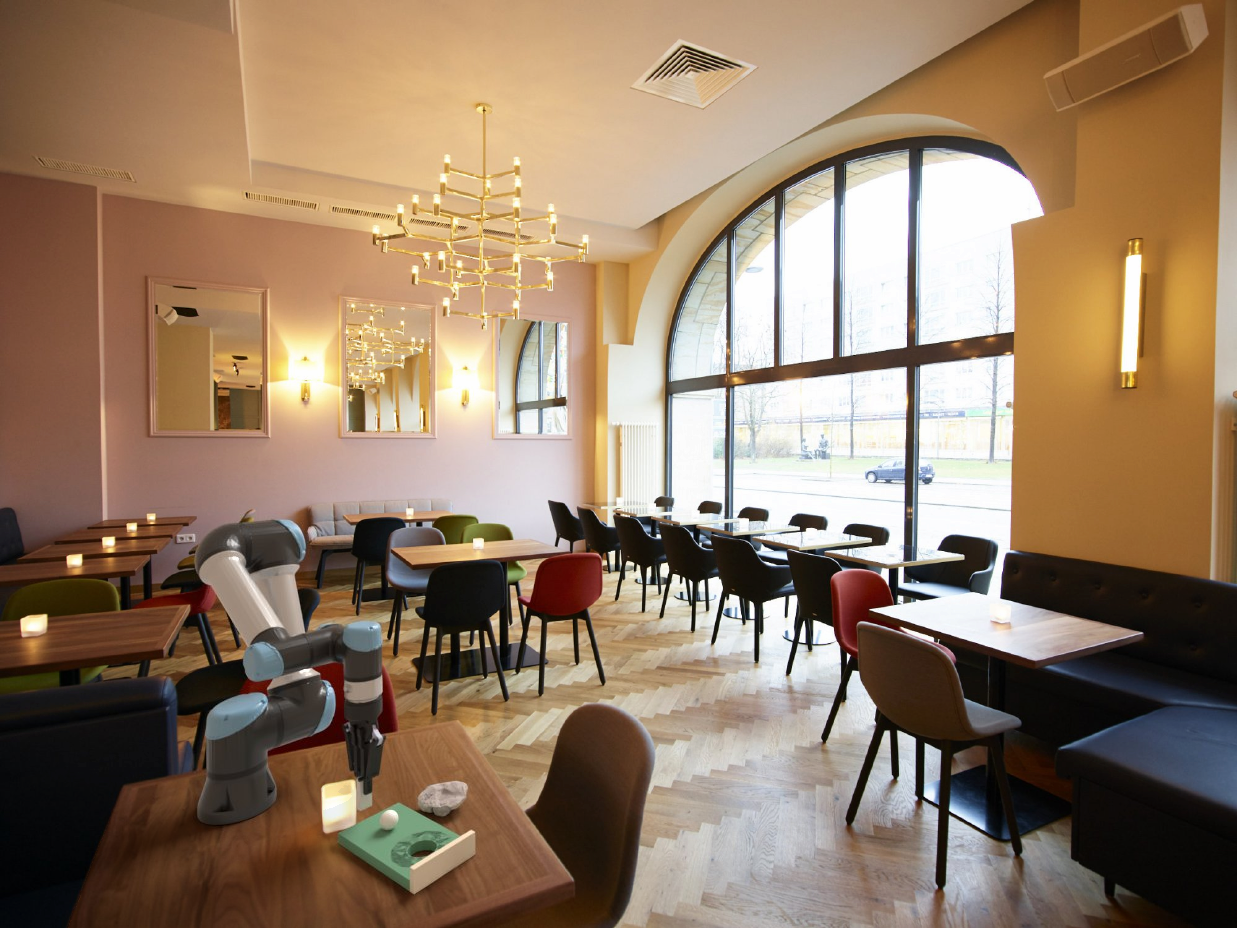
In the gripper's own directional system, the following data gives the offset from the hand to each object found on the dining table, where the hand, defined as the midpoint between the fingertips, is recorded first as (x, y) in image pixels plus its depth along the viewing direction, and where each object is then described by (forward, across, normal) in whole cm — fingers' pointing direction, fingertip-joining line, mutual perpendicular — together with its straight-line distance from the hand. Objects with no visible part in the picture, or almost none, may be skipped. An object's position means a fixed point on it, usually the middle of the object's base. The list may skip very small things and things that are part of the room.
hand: (364, 806), depth 134 cm
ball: (0, +9, 0) cm, 9 cm away
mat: (+4, +14, 0) cm, 14 cm away
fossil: (+4, +9, +14) cm, 17 cm away
